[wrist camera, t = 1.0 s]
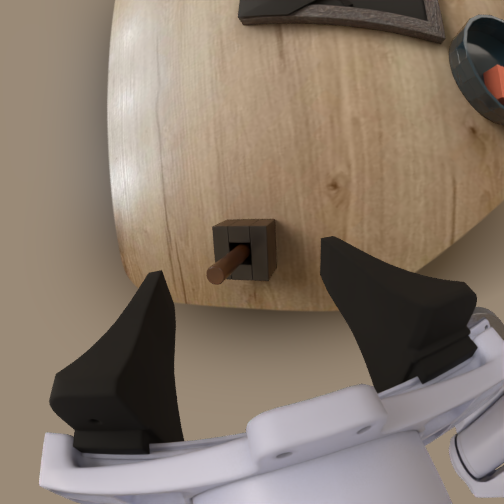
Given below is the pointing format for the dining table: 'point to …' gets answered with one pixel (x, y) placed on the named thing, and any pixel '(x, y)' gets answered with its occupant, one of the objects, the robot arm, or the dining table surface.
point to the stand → (262, 246)
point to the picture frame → (351, 15)
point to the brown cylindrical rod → (228, 263)
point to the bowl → (478, 62)
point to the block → (495, 82)
